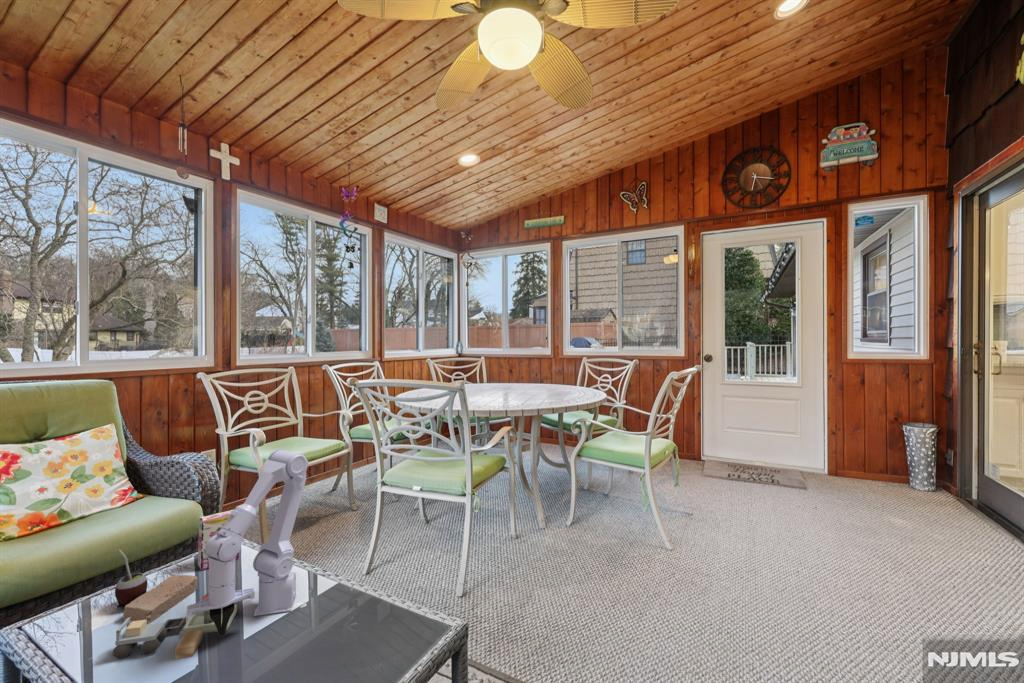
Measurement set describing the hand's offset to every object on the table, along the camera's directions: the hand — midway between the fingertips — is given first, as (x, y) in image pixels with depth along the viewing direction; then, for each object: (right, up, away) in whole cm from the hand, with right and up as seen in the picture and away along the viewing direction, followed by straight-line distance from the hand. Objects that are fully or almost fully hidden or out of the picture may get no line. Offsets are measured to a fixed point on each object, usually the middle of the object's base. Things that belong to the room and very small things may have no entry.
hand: (221, 633), depth 114 cm
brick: (-25, -1, +13) cm, 28 cm away
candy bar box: (-24, 0, +36) cm, 43 cm away
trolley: (-17, -1, -5) cm, 18 cm away
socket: (-14, -1, +2) cm, 14 cm away
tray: (-6, -1, +5) cm, 8 cm away
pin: (-7, 0, +5) cm, 8 cm away
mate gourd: (-34, 0, +12) cm, 36 cm away
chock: (-5, -1, -4) cm, 7 cm away
